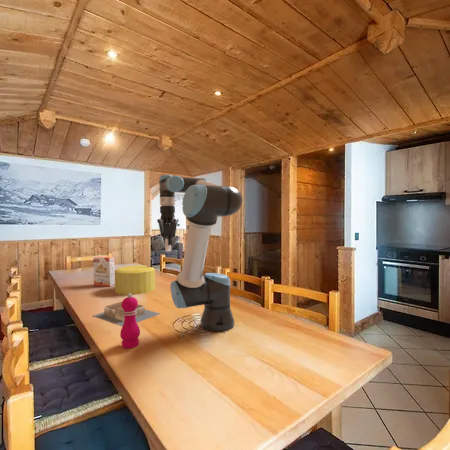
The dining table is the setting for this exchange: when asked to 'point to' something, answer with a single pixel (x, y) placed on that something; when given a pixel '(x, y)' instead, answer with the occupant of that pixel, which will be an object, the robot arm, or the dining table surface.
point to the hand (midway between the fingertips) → (168, 251)
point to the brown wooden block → (121, 311)
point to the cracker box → (104, 271)
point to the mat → (140, 318)
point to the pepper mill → (130, 323)
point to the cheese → (134, 279)
